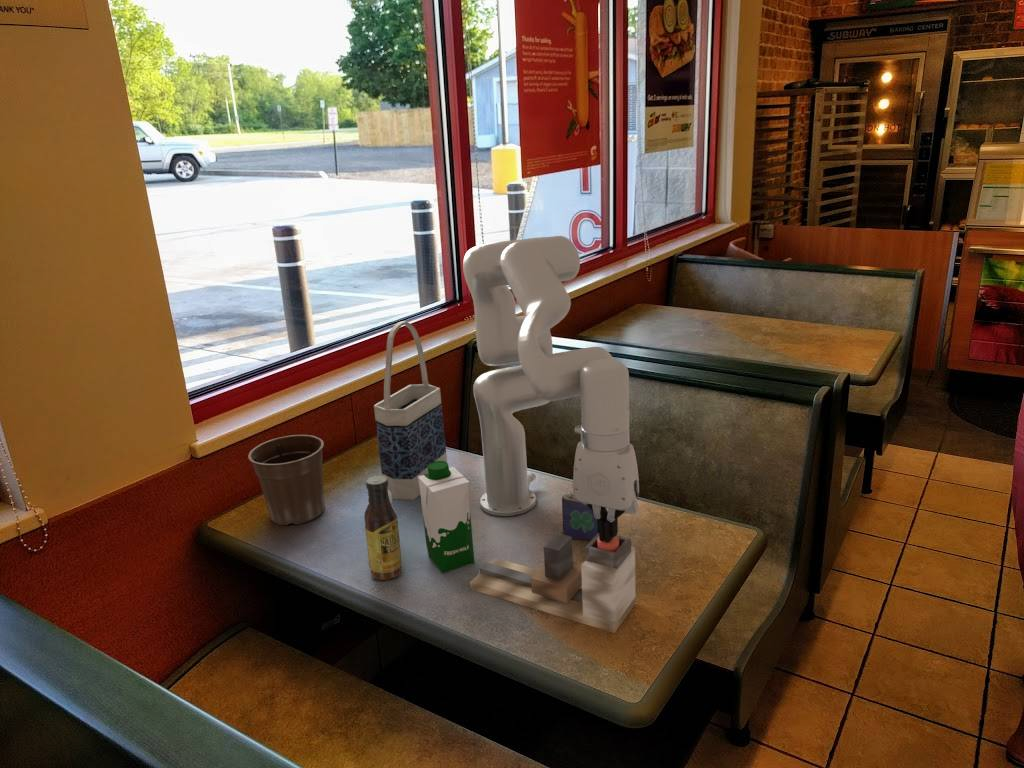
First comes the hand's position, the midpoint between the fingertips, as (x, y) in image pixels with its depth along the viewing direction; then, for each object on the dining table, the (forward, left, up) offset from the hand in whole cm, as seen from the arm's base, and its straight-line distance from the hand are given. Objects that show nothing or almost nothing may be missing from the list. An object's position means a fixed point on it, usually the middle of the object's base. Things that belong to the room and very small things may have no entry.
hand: (607, 537), depth 128 cm
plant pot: (-3, -79, -15) cm, 80 cm away
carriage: (0, -9, -12) cm, 15 cm away
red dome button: (0, 0, -3) cm, 3 cm away
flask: (-21, -15, -15) cm, 30 cm away
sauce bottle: (+7, -44, -15) cm, 47 cm away
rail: (0, -12, -15) cm, 19 cm away
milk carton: (-2, -35, -15) cm, 38 cm away
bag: (-27, -63, -15) cm, 70 cm away
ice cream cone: (-3, -53, -15) cm, 55 cm away
